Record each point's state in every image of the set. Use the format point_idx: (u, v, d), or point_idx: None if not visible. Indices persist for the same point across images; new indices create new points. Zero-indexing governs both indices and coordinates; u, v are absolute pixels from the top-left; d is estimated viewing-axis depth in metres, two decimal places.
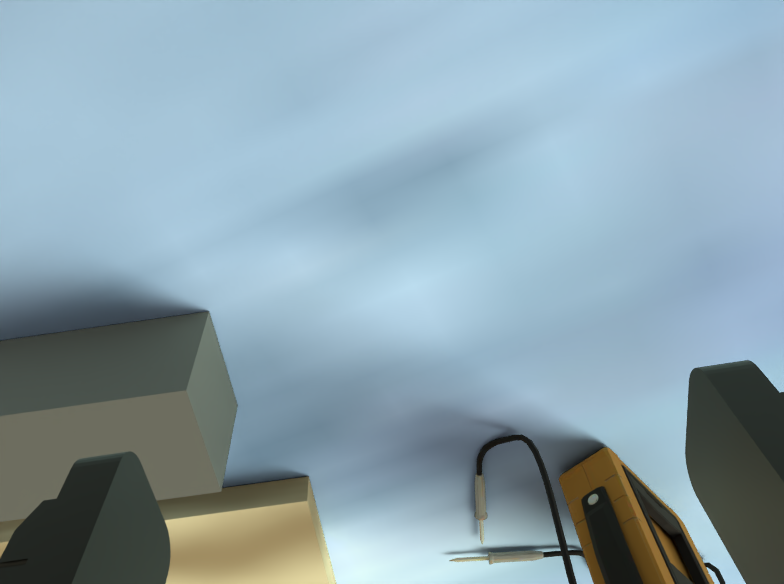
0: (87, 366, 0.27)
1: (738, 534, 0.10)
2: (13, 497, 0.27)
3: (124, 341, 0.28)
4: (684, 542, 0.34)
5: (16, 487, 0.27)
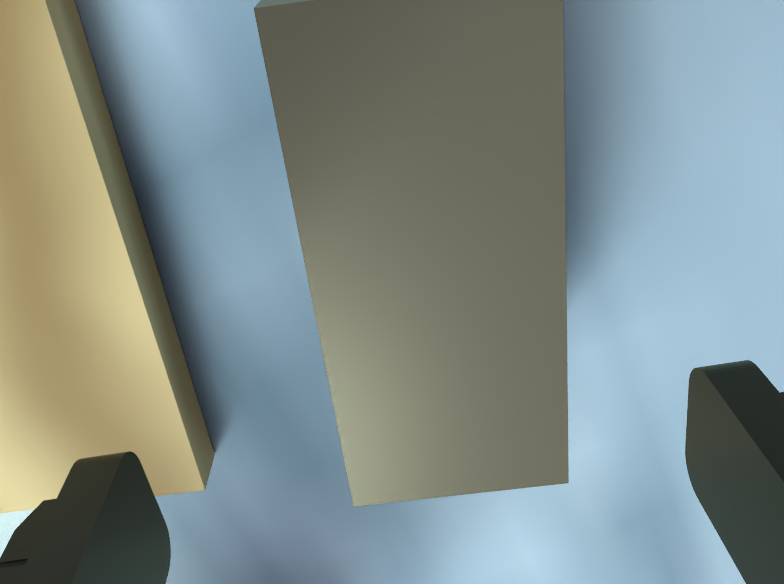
0: None
1: (738, 534, 0.10)
2: (354, 191, 0.13)
3: None
4: None
5: (381, 203, 0.13)
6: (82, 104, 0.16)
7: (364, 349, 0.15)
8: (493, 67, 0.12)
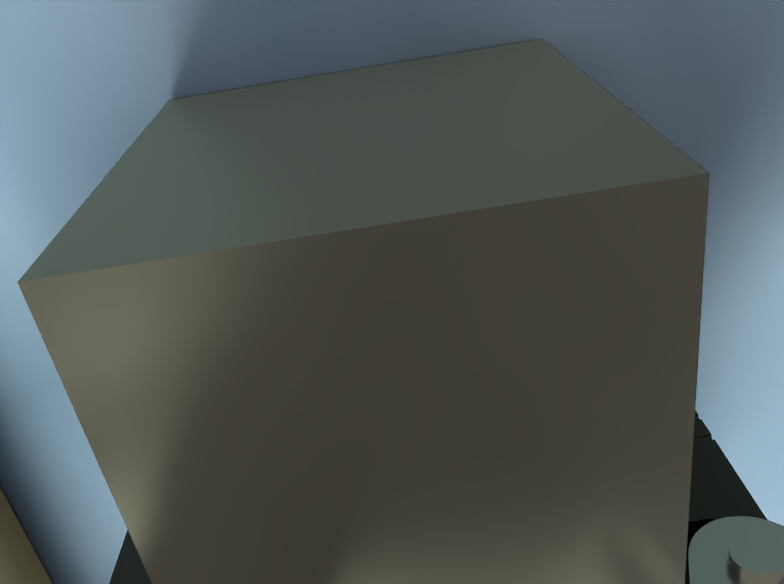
0: None
1: None
2: (276, 574, 0.07)
3: None
4: None
5: None
6: None
7: None
8: (550, 366, 0.06)
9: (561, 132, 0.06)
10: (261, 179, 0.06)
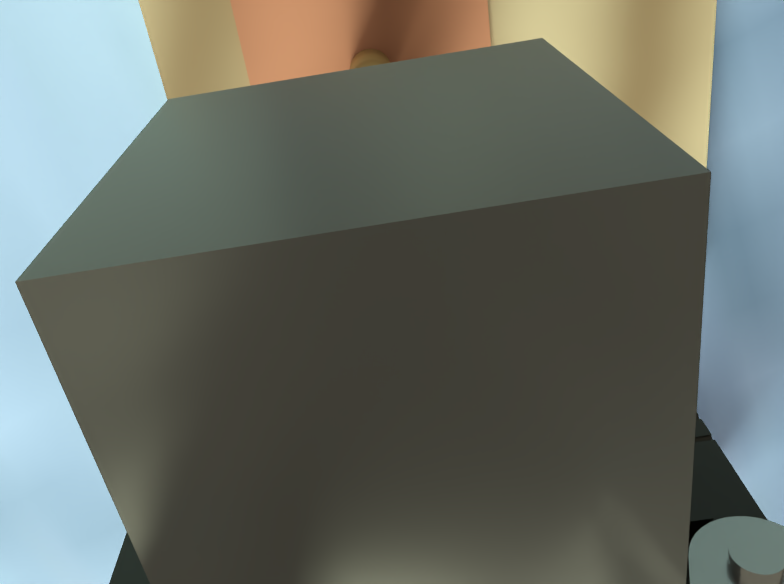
0: None
1: None
2: (275, 575, 0.07)
3: None
4: None
5: None
6: None
7: None
8: (550, 366, 0.06)
9: (562, 132, 0.06)
10: (261, 178, 0.06)
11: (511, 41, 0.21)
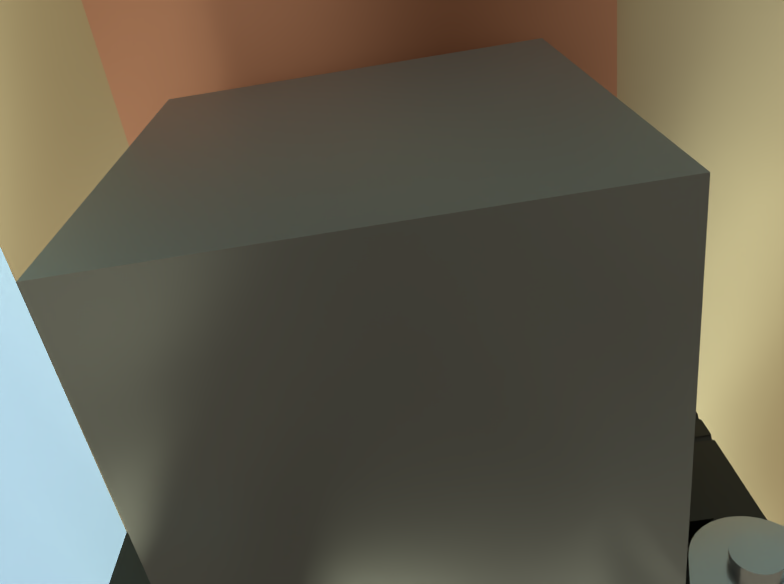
0: None
1: None
2: (275, 575, 0.07)
3: None
4: None
5: None
6: None
7: None
8: (551, 366, 0.06)
9: (561, 132, 0.06)
10: (260, 179, 0.06)
11: None
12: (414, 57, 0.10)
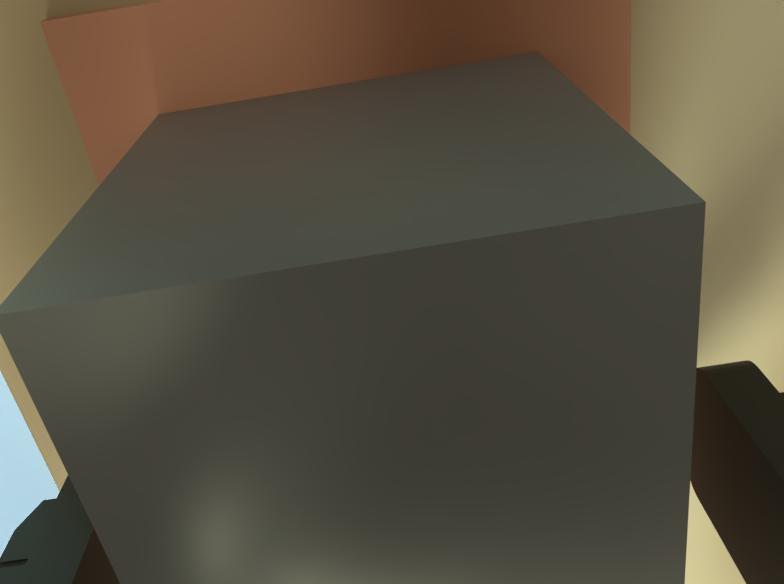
0: None
1: (738, 534, 0.10)
2: None
3: None
4: None
5: None
6: None
7: None
8: (543, 397, 0.06)
9: (554, 155, 0.06)
10: (246, 203, 0.06)
11: None
12: None
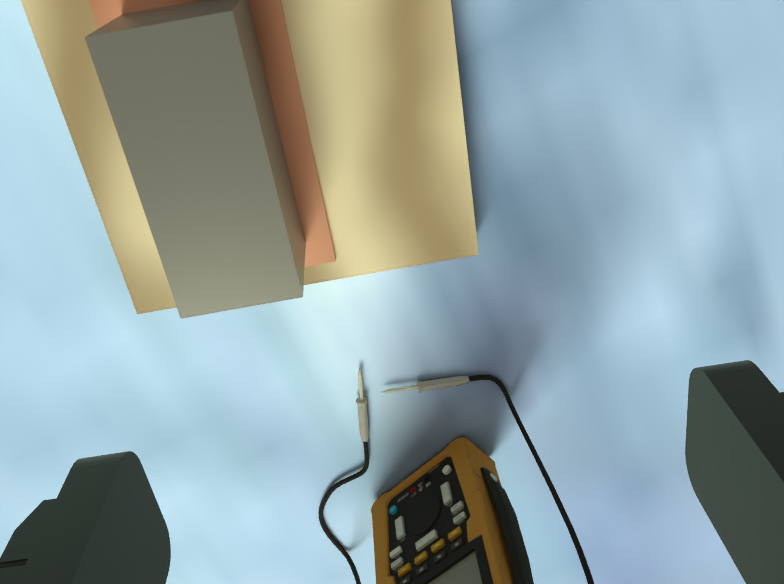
0: (282, 177, 0.29)
1: (738, 534, 0.10)
2: (149, 128, 0.25)
3: (289, 191, 0.31)
4: None
5: (165, 134, 0.26)
6: (450, 6, 0.29)
7: (170, 218, 0.27)
8: (208, 60, 0.25)
9: (216, 8, 0.25)
10: (142, 21, 0.25)
11: (307, 52, 0.30)
12: None
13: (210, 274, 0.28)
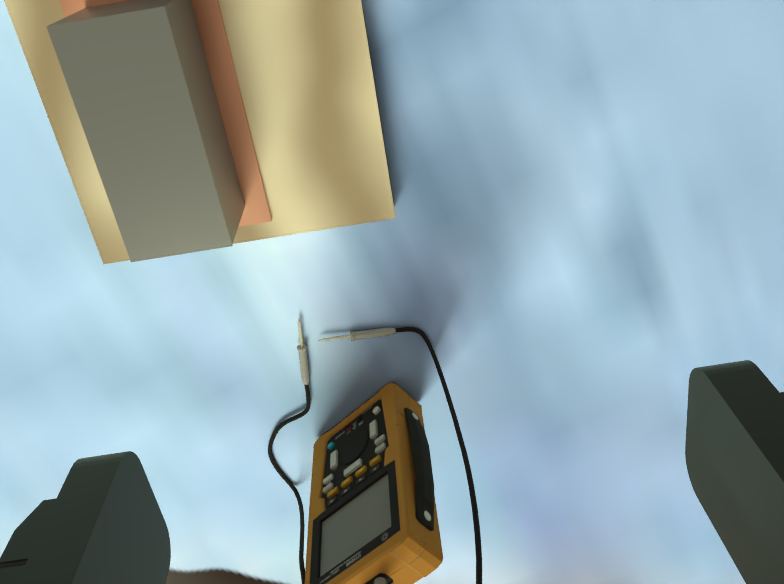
0: (216, 146, 0.35)
1: (738, 534, 0.10)
2: (100, 101, 0.31)
3: (226, 158, 0.36)
4: None
5: (113, 106, 0.31)
6: (361, 3, 0.35)
7: (119, 176, 0.33)
8: (146, 46, 0.30)
9: (155, 4, 0.31)
10: (95, 14, 0.31)
11: (241, 41, 0.35)
12: None
13: (154, 224, 0.34)
